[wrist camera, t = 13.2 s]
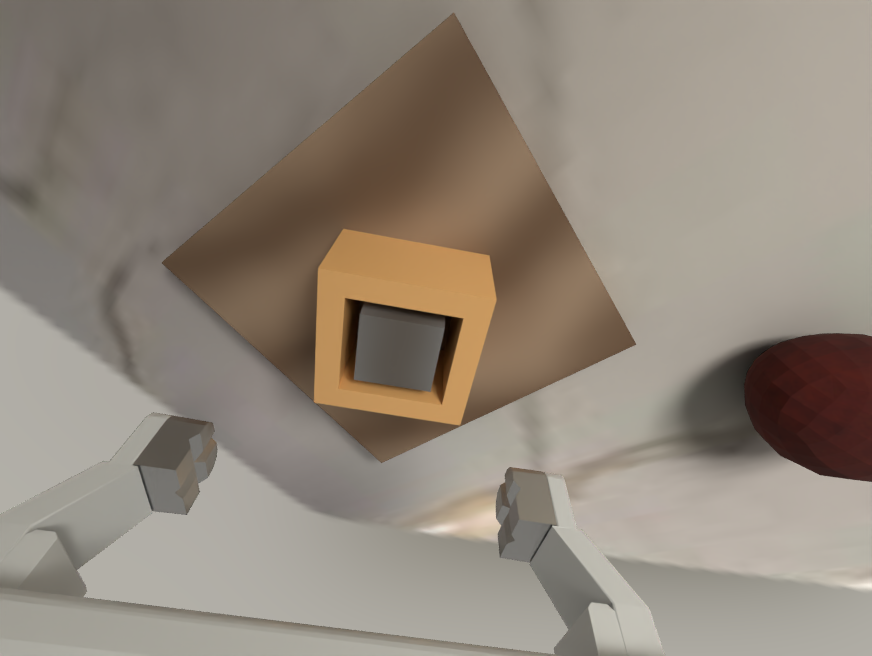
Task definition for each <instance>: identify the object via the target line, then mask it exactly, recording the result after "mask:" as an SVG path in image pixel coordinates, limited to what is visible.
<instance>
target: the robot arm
mask: <svg viewBox="0 0 872 656" xmlns="http://www.w3.org/2000/svg"><path fill="white" fill-rule="evenodd" d="M214 432H215V430H214V425H213V423H211V422H206V421H200V420H195V419H189V418H184V417H178V416H172V415H166V414H160V413H151V414H150V415H148V416H147V417H146V418H145V419H144V420H143V421H142V423H141V424H140V425H139V426H138V427H137V429H136V430H135V431H134V432H133V433H132V435H131V436H130V437H129V438H128V440H127V441H126V442H125V443H124V444H123V446H122V447H121V448H120V449H119V451H118V452H117V453H116V454H115V455H114V457H113V458H112V459H111V460H110V461H109V462H106V461H102V462H100V463H99V464H97V465H95V466H93V467H91V468H89V469H87V470H85V471H83V472H81V473H79V474H77V475H75V476H74V477H71V478H69V479H67V480H66V481H64V482H62V483H60V484H58V485H56V486H54V487H52V488H50V489H48V490H46V491H44V492H42V493H40V494H39V495H36V496H34V497H33V498H30V499H29V500H27V501H25V502H23V503H21V504H19V505H17V506H15V507H13V508H11V509H9V510H7V511H6V512H3V513H1V514H0V656H665V653H664V651H663V648H662V645H661V642H660V639H659V636H658V633H657V630H656V627H655V624H654V621H653V618H652V615H651V612H650V610H649V608H648V607H647V605H646V604H645V603H644V602H643V601H642V600H641V598H640V597H639V596H638V595H637V594H636V593H635V592H634V590H633V589H632V588H631V587H630V585H629V584H628V583H627V582H626V581H625V580H624V578H623V577H622V576H621V575H620V574H619V572H618V571H617V570H616V569H615V568H614V567H613V565H612V564H611V563H610V562H609V561H608V560H607V558H606V557H605V556H604V555H603V554H602V552H601V551H600V550H599V549H598V548H597V547H596V545H595V544H594V543H593V542H592V541H591V540H590V538H589V537H588V536H587V535H586V534H585V532H584V531H583V530H580V529H577V526H576V523H575V519H574V515H573V511H572V507H571V503H570V499H569V495H568V491H567V487H566V484H565V480H564V478H563V476H562V475H559V474H552V473H545V472H541V471H534V470H527V469H519V468H512V467H509V468H508V469H507V471H506V473H505V483H503V484H501V485H500V487H499V490H498V493H497V498H496V519H497V520H498V522H499V523H500V524H501V528H500V530H499V532H498V543H499V553H500V558H505V559H512V560H517V561H524V562H529V563H530V566H531V567H532V569H533V571H534V572H535V574H536V575H537V577H538V579H539V581H540V583H541V584H542V586H543V587H544V589H545V591H546V593H547V594H548V596H549V597H550V599H551V601H552V603H553V604H554V606H555V608H556V609H557V611H558V613H559V614H560V616H561V618H562V619H563V621H564V622H565V624H566V626H567V628H568V629H569V630H568V632H567V633H566V634H565V635H564V637H563V638H562V639H561V640H560V641H559V643H558V644H557V645H556V646H555V647H554V653H555V654H546V653H538V652H530V651H521V650H513V649H505V648H497V647H488V646H480V645H472V644H464V643H456V642H448V641H439V640H431V639H423V638H414V637H406V636H398V635H390V634H382V633H373V632H365V631H357V630H349V629H341V628H332V627H325V626H316V625H308V624H300V623H292V622H283V621H275V620H267V619H258V618H250V617H242V616H234V615H225V614H217V613H209V612H201V611H193V610H185V609H176V608H168V607H160V606H152V605H143V604H135V603H126V602H119V601H110V600H102V599H94V598H86V597H84V595H85V594H86V592H87V590H86V585H85V584H84V582H83V580H82V578H81V576H80V575H79V573H78V571H77V569H79V568H80V567H81V566H83V565H84V564H85V563H87V562H88V561H89V560H91V559H92V558H93V557H95V556H96V555H97V554H99V553H100V552H101V551H103V550H104V549H105V548H107V547H108V546H109V545H111V544H112V543H113V542H114V541H116V540H117V539H118V538H120V537H121V536H123V535H124V534H125V533H127V532H128V531H129V530H130V529H132V528H133V527H134V526H136V525H137V524H138V523H140V522H141V521H142V520H144V519H145V518H146V517H148V516H149V515H150V514H152V511H157V512H167V513H175V514H185V515H187V513H188V512H189V510H190V508H191V506H192V505H193V503H194V501H195V499H196V498H197V496H198V494H199V492H200V491H199V486H198V483H200V482H201V481H203V480H205V479H206V478H208V476H209V475H210V473H211V471H212V469H213V467H214V464H215V460H216V457H217V443H216V442H215V441H214V440H213V439H212V438H211V437H212V435H213V434H214Z"/></svg>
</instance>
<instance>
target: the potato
mask: <svg viewBox="0 0 872 656" xmlns="http://www.w3.org/2000/svg"><path fill="white" fill-rule="evenodd" d="M744 390H745V406H746V408H747V411H748V414H749V416H750V419H751V421H752V423H753V426H754V428H755V430H756V431H757V432H758V433H759V434H760V435H761V436H762V437H763V438H764V440H765V441H766V442H767V443H768V444H769V445H770V446H771V447H772V448H773V449H774V450H775V451H776V452H777V453H778V454H779V455H780V456H782V457H784V458H786V459H788V460H790V461H793V462H795V463H797V464H799V465H801V466H803V467H805V468H807V469H809V470H811V471H813V472H815V473H817V474H819V475H824V476H831V477H838V478H845V479H852V480H861V481H870V482H872V336H867V335H863V334H840V333H833V334H816V335H808V336H802V337H798V338H795V339H791V340H787V341H784V342H781V343H779V344H777V345H774V346H772V347H770V348H769V349H768V350H766V351H765V352H764V353H763V354H761V355H760V356H759V357H757V358H756V359H755V361H754V362H753V364H752V365H751V367H750V368H749V370H748V372H747V375H746V379H745V383H744Z"/></svg>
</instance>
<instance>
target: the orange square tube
mask: <svg viewBox="0 0 872 656" xmlns="http://www.w3.org/2000/svg"><path fill="white" fill-rule="evenodd" d="M360 301H366V302H371V303H377V304H383V305H389V306H395V307H400V308H406V309H412V310H418V311H424V312H429V313H435V314H441V315H447V316H452V318H451V323H450V327H449V331H448V336H447V340H446V344H445V349H444V350H440V352H439V356H438V361H437V365H436V370H435V374H434V379H433V383H432V388H431V392H428V391H421V390H415V389H409V388H403V387H396V386H390V385H384V384H378V383H371V382H365V381H359V380H354V372H355V362H356V351H357V340H358V336H357V329H358V319H359V308H360ZM496 301H497V298H496V292H495V286H494V280H493V274H492V268H491V262H490V256H489V255H484V254H479V253H473V252H468V251H462V250H457V249H451V248H446V247H440V246H435V245H429V244H424V243H418V242H413V241H407V240H402V239H396V238H391V237H386V236H380V235H375V234H369V233H364V232H358V231H353V230H347V229H343V230H342V231H341V233H340V235H339V236H338V238H337V239H336V241H335V242H334V244H333V246H332V247H331V249H330V250H329V252H328V253H327V255H326V257H325V258H324V260H323V261H322V263H321V264H320V266H319V268H318V285H317V318H316V350H315V383H314V403H320V404H326V405H332V406H339V407H345V408H352V409H358V410H364V411H371V412H377V413H383V414H390V415H396V416H403V417H409V418H415V419H422V420H428V421H435V422H441V423H447V424H454V425H460V424H461V421H462V418H463V414H464V411H465V407H466V404H467V400H468V397H469V393H470V390H471V387H472V383H473V380H474V376H475V373H476V369H477V366H478V363H479V359H480V356H481V352H482V349H483V345H484V342H485V338H486V335H487V332H488V328H489V325H490V321H491V318H492V314H493V311H494V307H495V304H496Z"/></svg>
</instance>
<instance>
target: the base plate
mask: <svg viewBox="0 0 872 656" xmlns="http://www.w3.org/2000/svg"><path fill="white" fill-rule="evenodd" d="M343 229H347V230H353V231H358V232H364V233H369V234H375V235H380V236H386V237H391V238H396V239H402V240H407V241H413V242H418V243H424V244H429V245H435V246H440V247H446V248H451V249H457V250H462V251H468V252H473V253H479V254H484V255H489V256H490V262H491V268H492V274H493V280H494V286H495V292H496V298H497V301H496V304H495V307H494V311H493V314H492V318H491V321H490V325H489V328H488V332H487V335H486V338H485V342H484V345H483V349H482V352H481V356H480V359H479V363H478V366H477V369H476V373H475V376H474V380H473V383H472V387H471V390H470V393H469V397H468V400H467V404H466V407H465V411H464V414H463V418H462V421H461V424H460V425H454V424H447V423H441V422H435V421H428V420H422V419H415V418H409V417H403V416H396V415H390V414H383V413H377V412H371V411H364V410H358V409H352V408H345V407H339V406H332V405H326V404H320V403H316V404H317V405H318V406H320V407H321V408H322V409H323V410H324V411H325V412H326V413H327V414H328V415H329V416H331V417H332V418H333V419H334V420H335V421H336V422H337V423H338V424H339V425H340V426H342V427H343V428H344V429H345V430H346V431H347V432H348V433H349V434H350V435H351V436H353V437H354V438H355V439H356V440H357V441H358V442H359V443H360V444H361V445H362V446H364V447H365V448H366V449H367V450H368V451H369V452H370V453H371V454H372V455H373V456H375V457H376V458H377V459H378V460H379V461H380V462H381V463H382V462H385V461H387V460H389V459H391V458H393V457H395V456H397V455H400V454H402V453H404V452H406V451H408V450H410V449H413V448H415V447H417V446H419V445H421V444H423V443H425V442H428V441H430V440H432V439H434V438H436V437H438V436H440V435H443V434H445V433H447V432H449V431H451V430H453V429H456V428H458V427H460V426H462V425H464V424H466V423H468V422H471V421H473V420H475V419H477V418H479V417H481V416H483V415H486V414H488V413H490V412H492V411H494V410H496V409H499V408H501V407H503V406H505V405H507V404H509V403H511V402H514V401H516V400H518V399H520V398H522V397H524V396H526V395H529V394H531V393H533V392H535V391H537V390H539V389H542V388H544V387H546V386H548V385H550V384H552V383H554V382H557V381H559V380H561V379H563V378H565V377H567V376H569V375H572V374H574V373H576V372H578V371H580V370H582V369H585V368H587V367H589V366H591V365H593V364H595V363H597V362H600V361H602V360H604V359H606V358H608V357H610V356H612V355H615V354H617V353H619V352H621V351H623V350H625V349H628V348H630V347H632V346H634V345H636V343H635V341H634V339H633V338H632V336H631V334H630V332H629V330H628V329H627V327H626V325H625V323H624V321H623V319H622V318H621V316H620V314H619V312H618V310H617V308H616V307H615V305H614V303H613V301H612V299H611V298H610V296H609V294H608V292H607V290H606V288H605V287H604V285H603V283H602V281H601V279H600V278H599V276H598V274H597V272H596V270H595V268H594V267H593V265H592V263H591V261H590V259H589V258H588V256H587V254H586V252H585V250H584V248H583V247H582V245H581V243H580V241H579V239H578V237H577V236H576V234H575V232H574V230H573V228H572V227H571V225H570V223H569V221H568V219H567V217H566V216H565V214H564V212H563V210H562V208H561V207H560V205H559V203H558V201H557V199H556V197H555V196H554V194H553V192H552V190H551V188H550V187H549V185H548V183H547V181H546V179H545V177H544V176H543V174H542V172H541V170H540V168H539V166H538V165H537V163H536V161H535V159H534V157H533V156H532V154H531V152H530V150H529V148H528V146H527V145H526V143H525V141H524V139H523V137H522V136H521V134H520V132H519V130H518V128H517V126H516V125H515V123H514V121H513V119H512V117H511V116H510V114H509V112H508V110H507V108H506V106H505V105H504V103H503V101H502V99H501V97H500V95H499V94H498V92H497V90H496V88H495V86H494V85H493V83H492V81H491V79H490V77H489V75H488V74H487V72H486V70H485V68H484V66H483V65H482V63H481V61H480V59H479V57H478V55H477V54H476V52H475V50H474V48H473V46H472V45H471V43H470V41H469V39H468V37H467V35H466V34H465V32H464V30H463V28H462V26H461V24H460V23H459V21H458V19H457V17H456V15H455V14H454V13H453V14H452V15H450V16H449V17H448V18H447V19H446V20H445V21H443V22H442V23H441V24H440V25H439V26H438V27H436V28H435V29H434V30H433V31H432V32H431V33H429V34H428V35H427V36H426V37H425V38H424V39H422V40H421V41H420V42H419V43H418V44H417V45H415V46H414V47H413V48H412V49H411V50H409V51H408V52H407V53H406V54H405V55H404V56H402V57H401V58H400V59H399V60H398V61H397V62H395V63H394V64H393V65H392V66H391V67H390V68H388V69H387V70H386V71H385V72H384V73H383V74H381V75H380V76H379V77H378V78H377V79H376V80H374V81H373V82H372V83H371V84H370V85H369V86H367V87H366V88H365V89H364V90H363V91H362V92H360V93H359V94H358V95H357V96H356V97H355V98H353V99H352V100H351V101H350V102H349V103H348V104H346V105H345V106H344V107H343V108H342V109H341V110H339V111H338V112H337V113H336V114H335V115H333V116H332V117H331V118H330V119H329V120H328V121H326V122H325V123H324V124H323V125H322V126H321V127H319V128H318V129H317V130H316V131H315V132H314V133H312V134H311V135H310V136H309V137H308V138H307V139H305V140H304V141H303V142H302V143H301V144H300V145H298V146H297V147H296V148H295V149H294V150H293V151H291V152H290V153H289V154H288V155H287V156H286V157H284V158H283V159H282V160H281V161H280V162H279V163H277V164H276V165H275V166H274V167H273V168H272V169H270V170H269V171H268V172H267V173H266V174H265V175H263V176H262V177H261V178H260V179H259V180H257V181H256V182H255V183H254V184H253V185H252V186H250V187H249V188H248V189H247V190H246V191H245V192H243V193H242V194H241V195H240V196H239V197H238V198H236V199H235V200H234V201H233V202H232V203H231V204H229V205H228V206H227V207H226V208H225V209H224V210H222V211H221V212H220V213H219V214H218V215H217V216H215V217H214V218H213V219H212V220H211V221H210V222H208V223H207V224H206V225H205V226H204V227H203V228H201V229H200V230H199V231H198V232H197V233H196V234H194V235H193V236H192V237H191V238H190V239H189V240H187V241H186V242H185V243H184V244H183V245H182V246H180V247H179V248H178V249H177V250H176V251H174V252H173V253H172V254H171V255H170V256H169V257H167V258H166V259H165V260H164V261H163V262H162V264H163V265H164V266H166V267H167V268H168V269H169V270H170V271H171V272H172V273H173V274H174V275H175V276H177V277H178V278H179V279H180V280H181V281H182V282H183V283H184V284H185V285H186V286H188V287H189V288H190V289H191V290H192V291H193V292H194V293H195V294H196V295H197V296H199V297H200V298H201V299H202V300H203V301H204V302H205V303H206V304H207V305H208V306H210V307H211V308H212V309H213V310H214V311H215V312H216V313H217V314H218V315H219V316H221V317H222V318H223V319H224V320H225V321H226V322H227V323H228V324H229V325H230V326H232V327H233V328H234V329H235V330H236V331H237V332H238V333H239V334H240V335H241V336H243V337H244V338H245V339H246V340H247V341H248V342H249V343H250V344H251V345H252V346H254V347H255V348H256V349H257V350H258V351H259V352H260V353H261V354H262V355H263V356H265V357H266V358H267V359H268V360H269V361H270V362H271V363H272V364H273V365H274V366H276V367H277V368H278V369H279V370H280V371H281V372H282V373H283V374H284V375H285V376H287V377H288V378H289V379H290V380H291V381H292V382H293V383H294V384H295V385H296V386H298V387H299V388H300V389H301V390H302V391H303V392H304V393H305V394H306V395H307V396H309V397H310V398H311V399H312V400H313V401H314V383H315V350H316V318H317V285H318V268H319V266H320V264H321V263H322V261H323V260H324V258H325V257H326V255H327V253H328V252H329V250H330V249H331V247H332V246H333V244H334V242H335V241H336V239H337V238H338V236H339V235H340V233H341V231H342V230H343ZM451 318H452V316H447V315H441V314H435V313H429V312H424V311H418V310H412V309H406V308H400V307H395V306H389V305H383V304H377V303H371V302H366V301H360V308H359V319H358V329H357V336H358V340H357V351H356V362H355V372H354V380H359V381H365V382H371V383H378V384H384V385H390V386H396V387H403V388H409V389H415V390H421V391H428V392H431V388H432V383H433V379H434V374H435V370H436V365H437V361H438V356H439V352H440V350H444V349H445V344H446V340H447V336H448V331H449V327H450V323H451Z"/></svg>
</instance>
